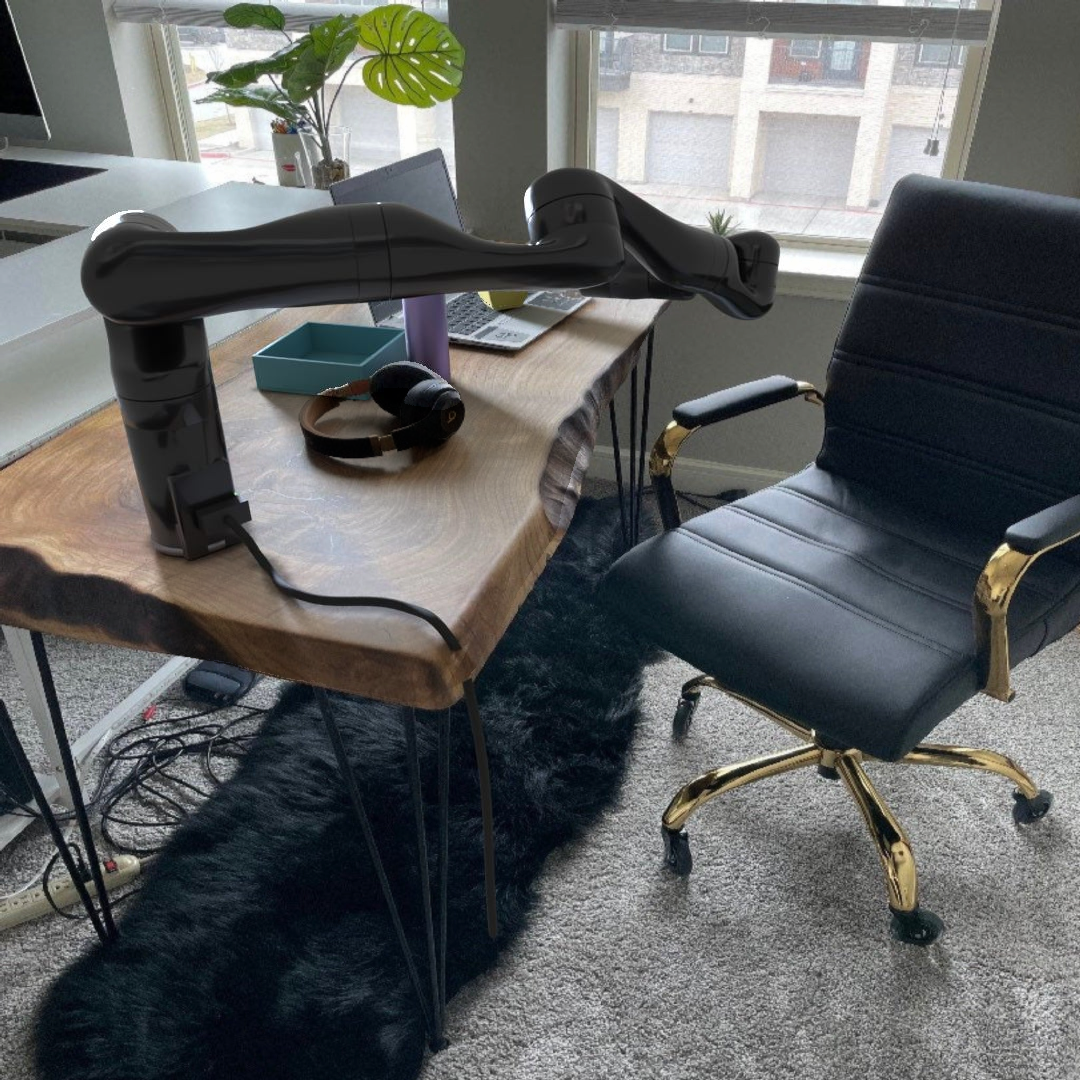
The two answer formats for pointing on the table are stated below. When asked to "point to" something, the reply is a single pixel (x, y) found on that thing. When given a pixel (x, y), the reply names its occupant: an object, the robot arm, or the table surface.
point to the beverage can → (427, 333)
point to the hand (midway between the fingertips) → (499, 262)
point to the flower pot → (503, 299)
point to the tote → (327, 357)
